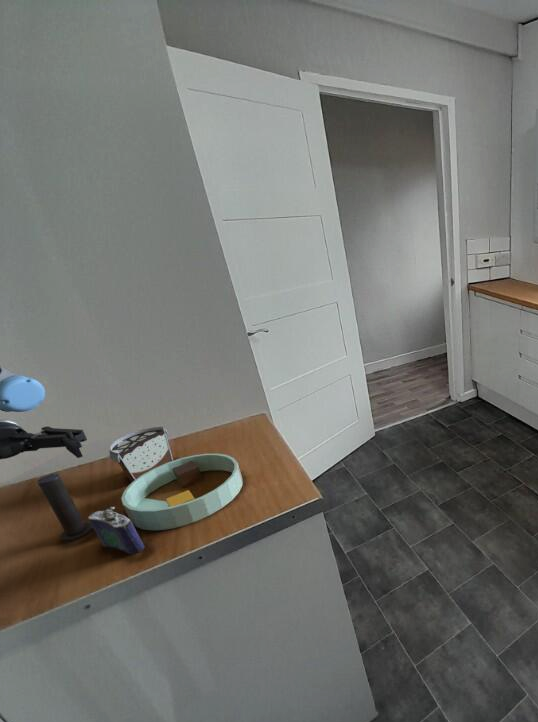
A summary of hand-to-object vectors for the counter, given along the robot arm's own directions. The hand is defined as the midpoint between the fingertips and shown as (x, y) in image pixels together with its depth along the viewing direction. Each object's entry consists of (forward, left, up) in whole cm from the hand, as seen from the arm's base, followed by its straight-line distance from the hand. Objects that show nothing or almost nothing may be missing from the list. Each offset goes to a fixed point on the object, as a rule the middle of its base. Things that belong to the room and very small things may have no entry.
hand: (30, 468), depth 79 cm
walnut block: (+9, +20, -13) cm, 26 cm away
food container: (-6, +17, -14) cm, 23 cm away
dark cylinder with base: (+9, 0, -14) cm, 17 cm away
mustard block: (+20, +14, -13) cm, 27 cm away
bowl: (+14, +17, -14) cm, 26 cm away
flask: (+21, +3, -14) cm, 26 cm away
